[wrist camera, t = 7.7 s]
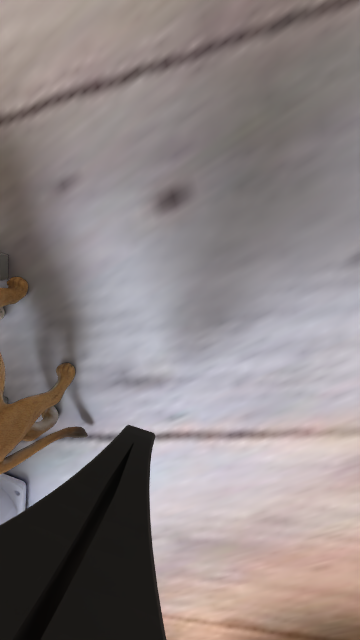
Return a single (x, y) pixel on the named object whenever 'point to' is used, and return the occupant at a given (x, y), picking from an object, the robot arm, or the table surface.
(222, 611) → the table surface
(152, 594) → the robot arm
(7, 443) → the lion figurine
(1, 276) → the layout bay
